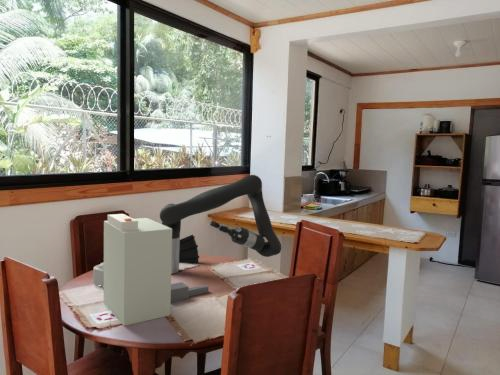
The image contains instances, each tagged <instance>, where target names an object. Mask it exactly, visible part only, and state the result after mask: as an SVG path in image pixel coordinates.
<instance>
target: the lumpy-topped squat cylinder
mask: <svg viewBox="0 0 500 375" xmlns="http://www.w3.org/2000/svg"><path fill="white" fill-rule="evenodd" d="M92 274H93V276H92V278H93V282H92V283H93V285H94V284H95V285H94V286H97V285H101V286H104V261H103V262H100V264H97V265H95V266H93V273H92Z"/></svg>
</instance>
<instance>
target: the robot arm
mask: <svg viewBox="0 0 500 375" xmlns="http://www.w3.org/2000/svg"><path fill="white" fill-rule="evenodd" d="M243 196H247V197H248V200H249V202H250V204H251V207H252V212H253V216H254V221H255V225H256V227H257V228H256V229H257V232H258V233H255V232H253V231H251V230H250V229H247V228H245V227H242V226H239V225H238V226H235V227H232V226H229V225H226V224H221V223H220V222H216V221H214V220H211V221H210V223H209V226H211V227H213V228H215V229H216V230H219V231H220V232H221V233H223V234H226V235H227V236H228V237H230V239H231V241H232V242H233V243H235V244H238V245H240V246H242V247H245V248H249V249H251V250H254V251H256V253H257V254H259V255H260V256H262V257H266V258H270V257H273V256H276V255H279V254H281V252H282V243H281V240H279V238H278V236H277V234H276V232H275V231H274V228H273V225H272V221H271V219H270V215H269V213H268V210H267V208H266V205H265V204H266V203H265V201H264V196H263V182H262V179H261V177H260V176H258V175H256V174H250V175H247V176H245V177H243V178H240V179H238V180H236V181H234V182H231V183H229V184H226V185H225V184H224V185H222V186H218V187H215V188H211V189H208V190H206V191H204V192H201V193H198V194H197V195H194V196H193V197H192V198H189V199H187V200H186V201H182V202H179V203H176V204H175V203H168V204H166V205H165V206H163V208H161V210H160V212H159V218H160V221H161V224H162V225H165V226H167V227H169V228H171V229H172V259H171V275H172V274H177V273H179V271H180V263H179V251H180V238H181V228H182V226H181V225H182V224H181V223H182V220H184V219H186V218H188V217H191V216H193V215H194V216H195V215H198V214H201V213H202V214H203V213H205V212H209V211H211V210H214V209H217V208H220V207H223V206H224V205H226V204H228V203H230V202H231V201H233V200H234V199H236V198H239V197H243ZM265 239H266V240H267V241H266V240H265Z"/></svg>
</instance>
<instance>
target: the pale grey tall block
mask: <svg viewBox="0 0 500 375" xmlns="http://www.w3.org/2000/svg"><path fill="white" fill-rule="evenodd" d="M171 259H172V229H171V228H169V227H167V226H165V225H162V223H160V222H157V221H155V220H153V219H150V218H149V217H137V218H133V217H131V216H129V215H127V214H124V213H117V214H116V213H114V214H113V213H112V214H107V220H104V221H103V262H104V287H103V303H104V305H105V306H106V305H107V306H108V307H107V306H106V307H107V308H108V309H109V310H110V311H112V312H111V313H112V314H113V315H114V317H116V319H117V320H118V321H119V322H120V323H121V324H122V326H123V327H125V326H130V325H133V324H138V323H142V322H147V321H151V320H155V319H159V318H164V317H168V316H171V303H172V302H171V284H172V274H171Z"/></svg>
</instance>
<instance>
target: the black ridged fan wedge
mask: <svg viewBox="0 0 500 375" xmlns="http://www.w3.org/2000/svg"><path fill="white" fill-rule="evenodd" d="M195 238H196V236H195V235H193V234H190V235H188V236H185V237H184V238H183V237H182V238H181V239H180V251H179V264H181V263H183V264H193V265H194V264H195V265H197V264H198V263H199V259H200V255H199V250H198V244H197V242H196V239H195Z"/></svg>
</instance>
